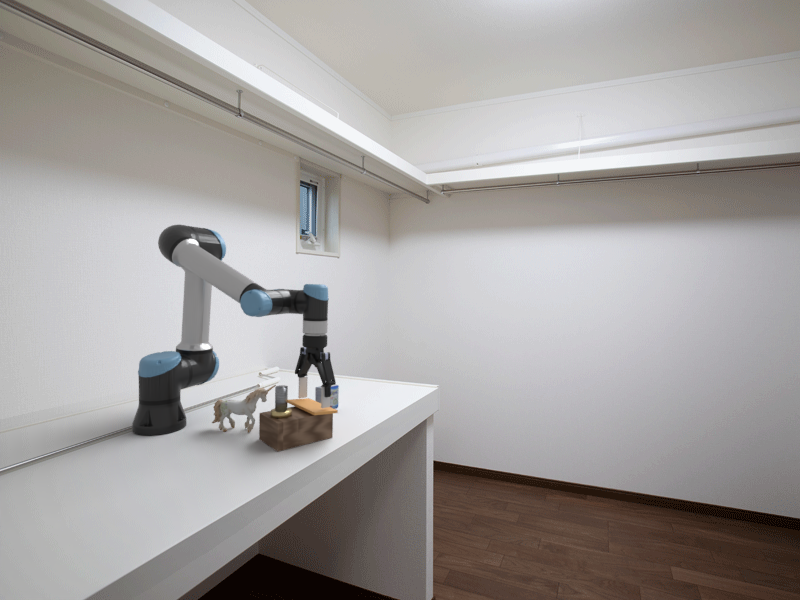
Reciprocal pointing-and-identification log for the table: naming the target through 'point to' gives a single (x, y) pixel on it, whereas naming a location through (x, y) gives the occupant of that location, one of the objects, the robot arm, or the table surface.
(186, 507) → the table surface
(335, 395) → the medicine box
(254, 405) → the unicorn figurine
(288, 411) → the pin
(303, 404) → the latch flap
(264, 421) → the block
